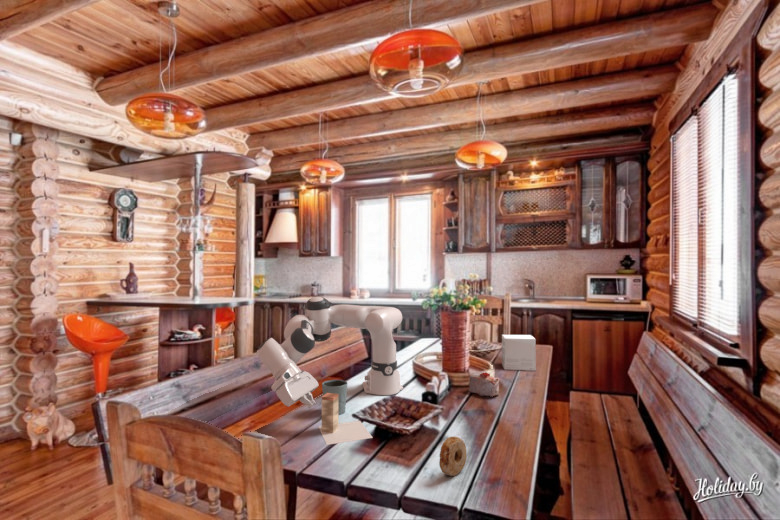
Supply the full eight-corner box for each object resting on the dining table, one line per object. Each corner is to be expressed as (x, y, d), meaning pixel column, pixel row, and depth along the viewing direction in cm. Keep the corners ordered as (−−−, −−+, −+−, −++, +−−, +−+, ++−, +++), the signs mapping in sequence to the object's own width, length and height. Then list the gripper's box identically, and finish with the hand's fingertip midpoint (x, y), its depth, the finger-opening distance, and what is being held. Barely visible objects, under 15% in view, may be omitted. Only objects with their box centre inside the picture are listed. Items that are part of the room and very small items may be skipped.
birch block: (321, 431, 146) (321, 396, 146) (327, 426, 150) (327, 392, 150) (333, 433, 144) (333, 397, 144) (338, 428, 149) (338, 394, 149)
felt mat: (318, 427, 150) (318, 426, 150) (360, 421, 156) (360, 420, 156) (326, 445, 135) (326, 444, 135) (372, 438, 141) (372, 437, 141)
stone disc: (448, 482, 113) (448, 446, 113) (437, 477, 116) (437, 442, 116) (469, 468, 121) (469, 435, 121) (458, 464, 123) (458, 431, 123)
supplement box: (531, 365, 241) (531, 334, 241) (536, 371, 228) (536, 338, 228) (501, 364, 243) (501, 333, 244) (504, 370, 230) (504, 338, 230)
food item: (502, 394, 188) (502, 373, 188) (494, 399, 181) (494, 377, 181) (474, 389, 196) (474, 368, 196) (467, 393, 190) (467, 372, 190)
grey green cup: (319, 417, 160) (319, 386, 160) (324, 407, 170) (324, 379, 170) (345, 417, 160) (345, 386, 160) (348, 408, 170) (348, 379, 170)
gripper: (297, 374, 161) (320, 401, 158) (268, 389, 142) (292, 421, 139) (308, 363, 160) (330, 391, 157) (279, 378, 140) (304, 409, 138)
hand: (312, 405), depth 148 cm, fingers closed
